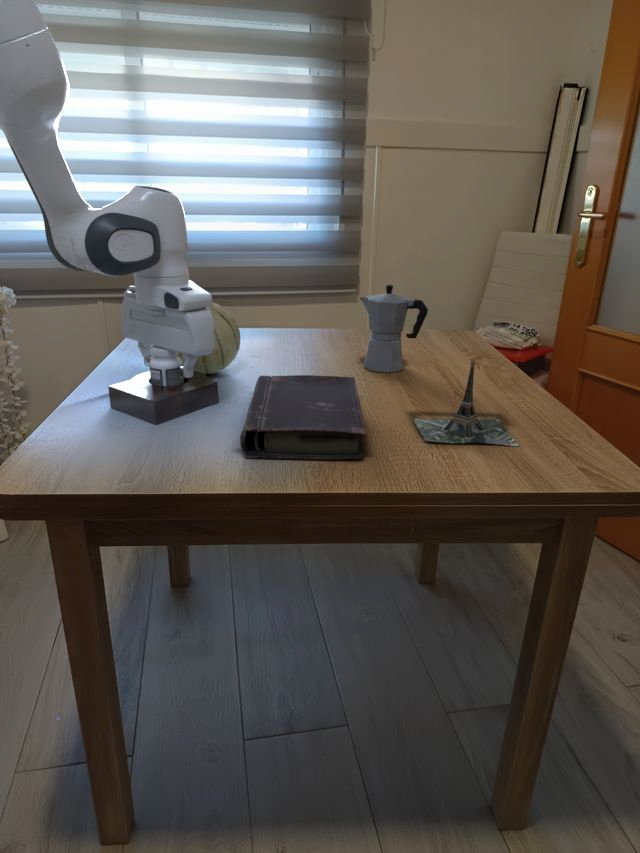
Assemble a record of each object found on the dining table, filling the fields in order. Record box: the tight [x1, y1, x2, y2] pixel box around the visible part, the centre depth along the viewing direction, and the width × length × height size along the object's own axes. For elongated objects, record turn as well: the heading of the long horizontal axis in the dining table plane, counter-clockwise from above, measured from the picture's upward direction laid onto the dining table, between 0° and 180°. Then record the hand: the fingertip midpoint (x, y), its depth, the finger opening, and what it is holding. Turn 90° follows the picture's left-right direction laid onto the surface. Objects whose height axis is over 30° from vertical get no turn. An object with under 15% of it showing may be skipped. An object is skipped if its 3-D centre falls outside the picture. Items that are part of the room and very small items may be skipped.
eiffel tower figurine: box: [412, 357, 520, 447], centre depth 91 cm, size 15×10×13 cm
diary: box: [239, 374, 367, 461], centre depth 93 cm, size 19×25×5 cm
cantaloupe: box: [178, 301, 241, 375], centre depth 116 cm, size 15×15×15 cm
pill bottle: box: [149, 345, 184, 386], centre depth 101 cm, size 6×6×10 cm
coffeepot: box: [359, 284, 429, 374], centre depth 123 cm, size 15×9×18 cm, turn 61°
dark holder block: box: [107, 370, 219, 426], centre depth 101 cm, size 16×14×4 cm
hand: (168, 371), depth 101 cm, fingers open, 8 cm apart
